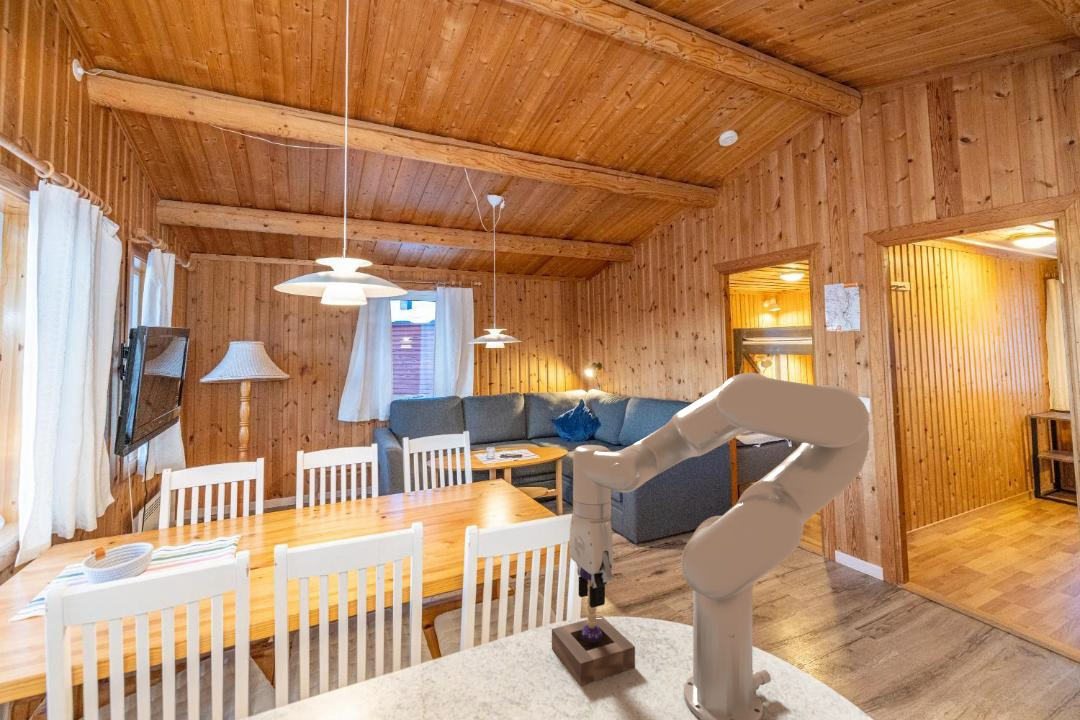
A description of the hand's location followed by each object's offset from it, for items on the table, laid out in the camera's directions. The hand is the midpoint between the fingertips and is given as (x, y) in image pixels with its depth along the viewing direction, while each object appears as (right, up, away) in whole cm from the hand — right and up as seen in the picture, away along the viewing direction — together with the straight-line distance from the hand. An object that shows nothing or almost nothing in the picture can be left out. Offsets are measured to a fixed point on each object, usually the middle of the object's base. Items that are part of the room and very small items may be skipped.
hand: (591, 599), depth 92 cm
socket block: (0, -12, 0) cm, 12 cm away
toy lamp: (0, -8, +1) cm, 8 cm away
